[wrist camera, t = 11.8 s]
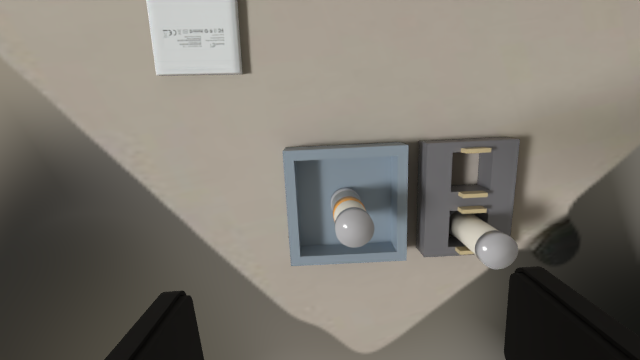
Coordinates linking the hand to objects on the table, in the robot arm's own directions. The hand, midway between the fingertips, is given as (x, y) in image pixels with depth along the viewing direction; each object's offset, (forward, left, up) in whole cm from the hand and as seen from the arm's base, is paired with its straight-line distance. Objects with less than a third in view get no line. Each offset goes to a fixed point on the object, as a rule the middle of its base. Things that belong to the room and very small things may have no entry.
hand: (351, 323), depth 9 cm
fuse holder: (-14, +3, -24) cm, 28 cm away
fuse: (-14, +6, -24) cm, 29 cm away
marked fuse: (-2, +4, -24) cm, 24 cm away
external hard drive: (+12, -16, -25) cm, 32 cm away
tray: (-2, +3, -24) cm, 24 cm away
